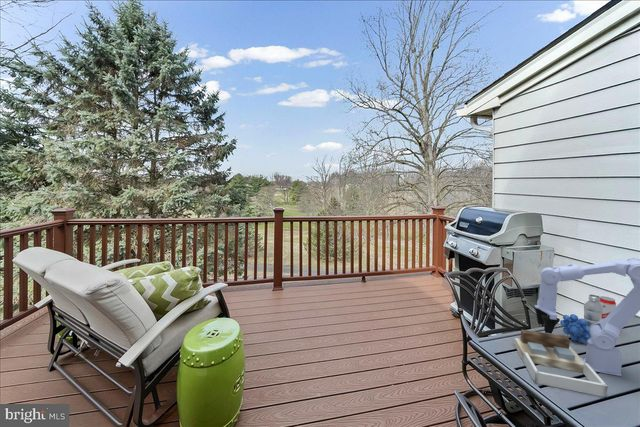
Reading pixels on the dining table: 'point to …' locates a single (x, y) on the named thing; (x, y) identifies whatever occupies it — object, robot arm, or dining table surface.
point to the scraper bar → (545, 339)
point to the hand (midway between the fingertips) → (544, 328)
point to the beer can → (607, 306)
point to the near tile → (564, 353)
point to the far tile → (537, 348)
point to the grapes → (576, 328)
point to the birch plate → (550, 358)
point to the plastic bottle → (592, 310)
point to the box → (568, 379)
